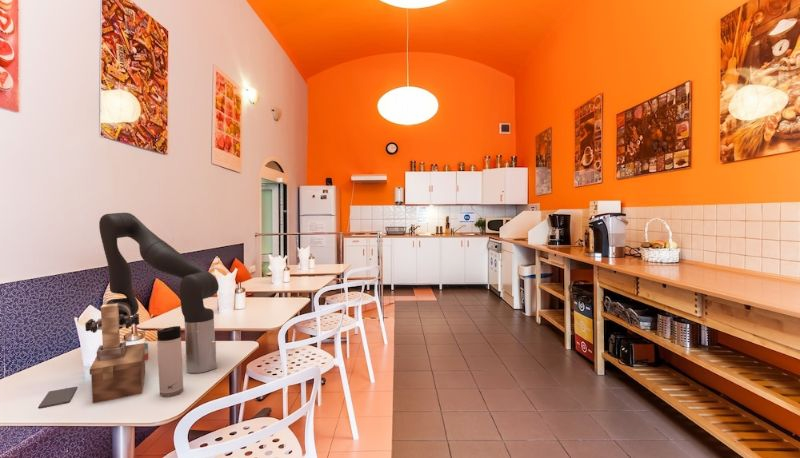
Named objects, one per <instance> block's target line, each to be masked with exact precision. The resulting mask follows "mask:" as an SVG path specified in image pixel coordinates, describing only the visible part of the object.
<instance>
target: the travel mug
mask: <svg viewBox="0 0 800 458" xmlns="http://www.w3.org/2000/svg"><path fill="white" fill-rule="evenodd" d="M181 330H182V329H181V326H179V325H177V326H175V325H174V326H169V327H165V328H163V329H162V330H161V329H160V330H157V331H156V336H157V343H156V344H157V363H158V382H159V383H158V384H159V396H161V397H164V398H165V397H169V398H170V397H174V396H176V395H179V394H181V393H182V392H183V391H184V379H183V378H184V374H183V372H184V371H183V353H182V351H183V350H182V335H181Z"/></svg>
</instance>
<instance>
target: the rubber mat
mask: <svg viewBox="0 0 800 458" xmlns="http://www.w3.org/2000/svg"><path fill="white" fill-rule="evenodd" d="M78 388H79V387H78V386H73V387H72V386H71V387H66V388H65V387H64V388H60V389H55V390H49V391H48V392H47V393H46V395H45V396H44V397H43V399H42V401H41V402H40V404H39V405H38V407H37V409H38V408H39V409H45V408H50V407H54V406H60V405H65V404H70V403H71V402H72V399H73V397H74V396H75V394H76V391H77V390H78Z"/></svg>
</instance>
